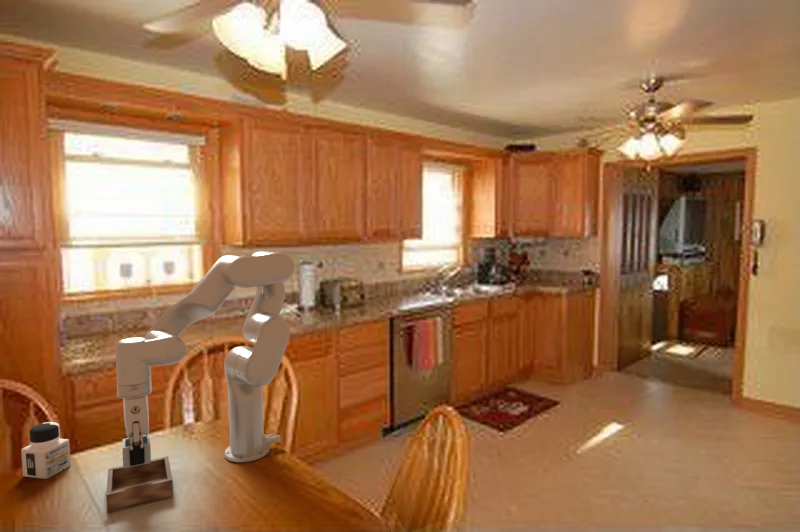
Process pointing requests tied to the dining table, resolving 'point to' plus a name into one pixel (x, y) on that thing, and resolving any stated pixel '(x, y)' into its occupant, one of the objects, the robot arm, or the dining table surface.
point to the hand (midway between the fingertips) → (137, 457)
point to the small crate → (127, 446)
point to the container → (45, 452)
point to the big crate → (138, 485)
